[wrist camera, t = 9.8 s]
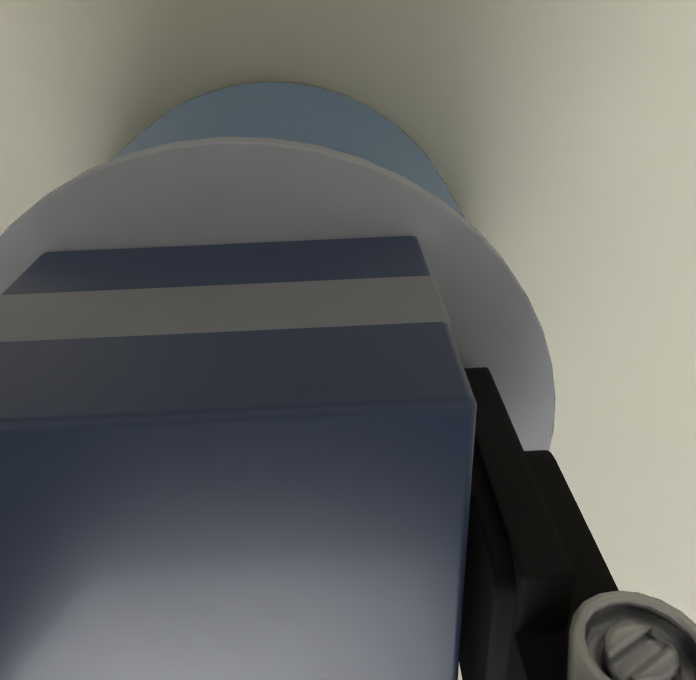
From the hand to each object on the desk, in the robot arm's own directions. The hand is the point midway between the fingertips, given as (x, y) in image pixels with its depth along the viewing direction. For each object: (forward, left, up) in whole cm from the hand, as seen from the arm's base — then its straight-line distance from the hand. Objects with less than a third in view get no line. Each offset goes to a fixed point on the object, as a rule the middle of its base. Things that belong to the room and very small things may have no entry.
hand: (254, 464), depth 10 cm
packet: (0, 0, 0) cm, 0 cm away
